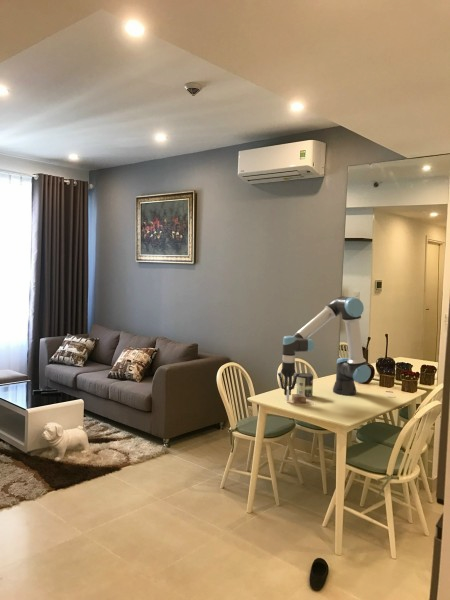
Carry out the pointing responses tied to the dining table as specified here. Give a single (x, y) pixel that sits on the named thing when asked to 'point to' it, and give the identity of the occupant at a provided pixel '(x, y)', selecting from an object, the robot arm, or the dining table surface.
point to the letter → (308, 402)
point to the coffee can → (305, 384)
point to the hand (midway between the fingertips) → (287, 400)
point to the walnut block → (299, 398)
